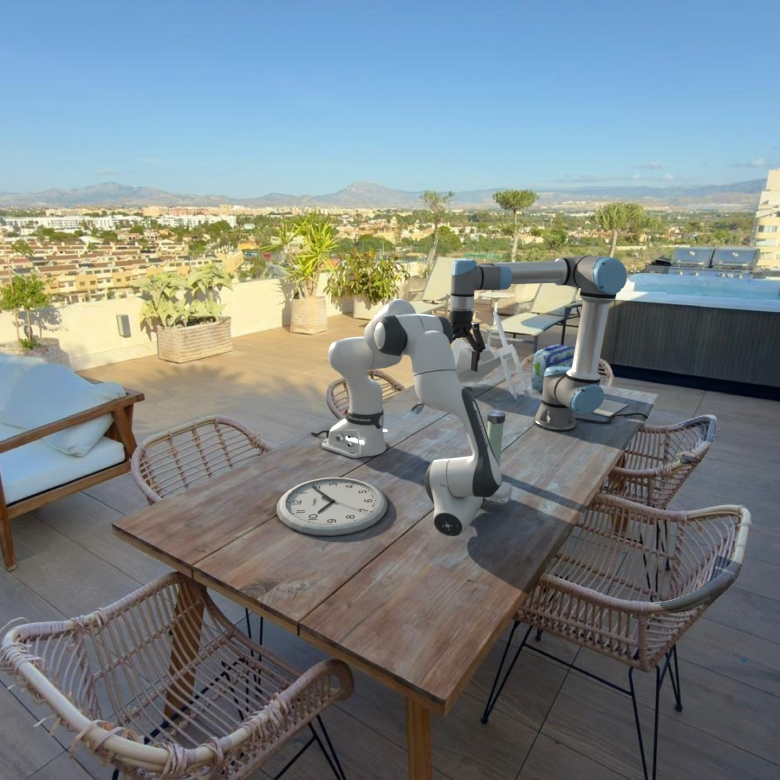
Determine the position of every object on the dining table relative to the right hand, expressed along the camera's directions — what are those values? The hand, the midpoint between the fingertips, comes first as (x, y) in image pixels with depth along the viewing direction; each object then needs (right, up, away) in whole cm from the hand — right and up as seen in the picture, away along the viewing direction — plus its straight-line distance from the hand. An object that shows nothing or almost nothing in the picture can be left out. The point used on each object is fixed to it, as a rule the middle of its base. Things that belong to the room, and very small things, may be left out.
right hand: (457, 373), depth 174 cm
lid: (+10, -13, -17) cm, 23 cm away
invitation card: (+69, -13, +52) cm, 88 cm away
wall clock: (-38, -37, -31) cm, 62 cm away
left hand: (+3, -30, -25) cm, 39 cm away
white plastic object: (+19, -7, +69) cm, 72 cm away
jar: (+9, -32, -11) cm, 35 cm away
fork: (-11, -13, +49) cm, 52 cm away
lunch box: (+55, -5, +76) cm, 94 cm away
